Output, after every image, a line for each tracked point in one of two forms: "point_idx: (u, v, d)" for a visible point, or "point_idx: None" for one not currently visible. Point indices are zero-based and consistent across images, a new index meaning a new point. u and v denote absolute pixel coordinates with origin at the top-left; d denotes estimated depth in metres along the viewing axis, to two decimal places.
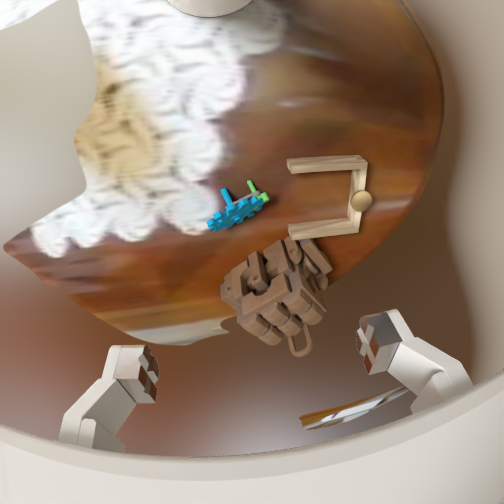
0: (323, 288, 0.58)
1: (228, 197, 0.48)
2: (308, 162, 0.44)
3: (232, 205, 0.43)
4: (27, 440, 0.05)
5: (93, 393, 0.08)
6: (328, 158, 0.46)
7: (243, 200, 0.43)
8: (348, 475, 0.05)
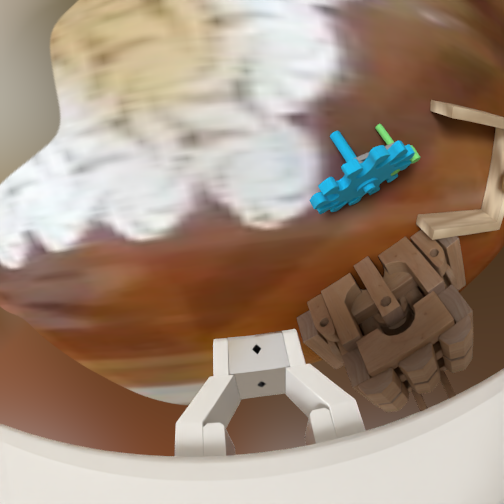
0: None
1: (348, 147, 0.22)
2: (464, 107, 0.20)
3: (384, 148, 0.17)
4: (27, 440, 0.05)
5: (209, 393, 0.08)
6: (478, 110, 0.21)
7: (400, 143, 0.18)
8: (348, 475, 0.05)
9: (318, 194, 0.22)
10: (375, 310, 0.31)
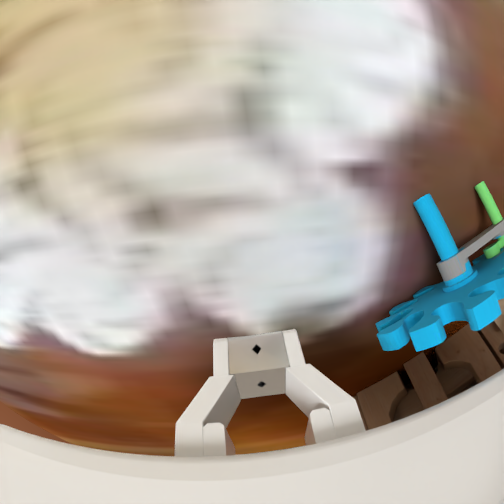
0: None
1: (446, 228, 0.11)
2: None
3: None
4: (27, 440, 0.05)
5: (209, 393, 0.08)
6: None
7: None
8: (348, 475, 0.05)
9: (398, 332, 0.10)
10: None
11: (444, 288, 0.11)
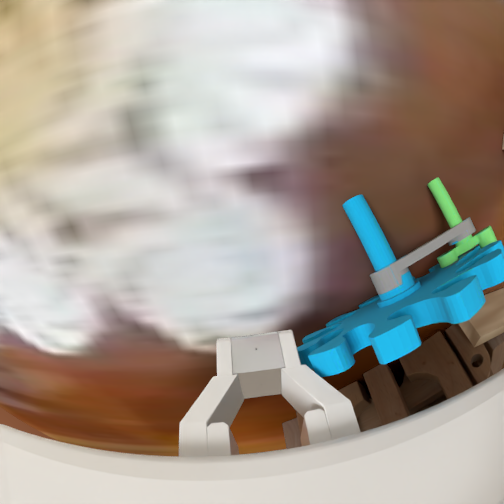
0: None
1: (380, 233, 0.11)
2: None
3: (478, 286, 0.06)
4: (27, 440, 0.05)
5: (213, 393, 0.08)
6: None
7: (503, 259, 0.06)
8: (348, 475, 0.05)
9: (308, 351, 0.10)
10: None
11: (378, 302, 0.11)
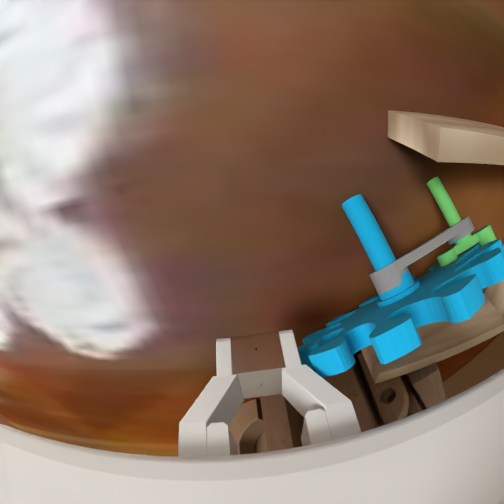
0: None
1: (379, 233, 0.11)
2: (472, 126, 0.08)
3: (478, 285, 0.06)
4: (27, 440, 0.05)
5: (212, 393, 0.08)
6: (500, 128, 0.09)
7: (502, 258, 0.06)
8: (348, 475, 0.05)
9: (309, 351, 0.10)
10: None
11: (377, 302, 0.11)
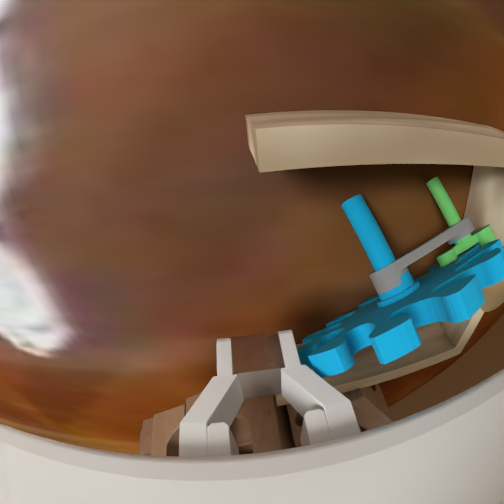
0: None
1: (379, 233, 0.11)
2: (347, 118, 0.08)
3: (477, 285, 0.06)
4: (27, 440, 0.05)
5: (213, 393, 0.08)
6: (419, 117, 0.09)
7: (502, 258, 0.06)
8: (348, 475, 0.05)
9: (308, 352, 0.10)
10: None
11: (377, 302, 0.11)
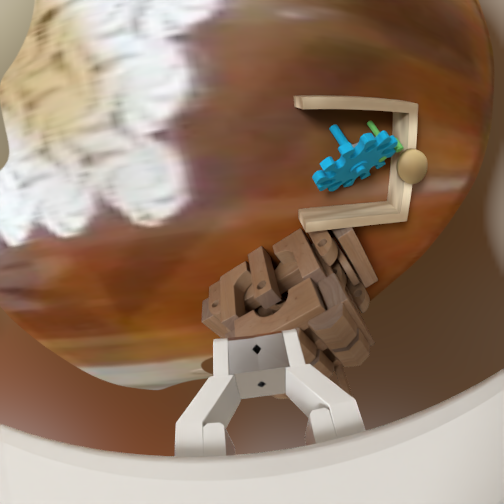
0: (363, 309, 0.35)
1: (344, 137, 0.28)
2: (328, 96, 0.25)
3: (372, 135, 0.23)
4: (27, 440, 0.05)
5: (209, 393, 0.08)
6: None
7: (385, 132, 0.23)
8: (348, 475, 0.05)
9: (319, 171, 0.27)
10: None
11: None
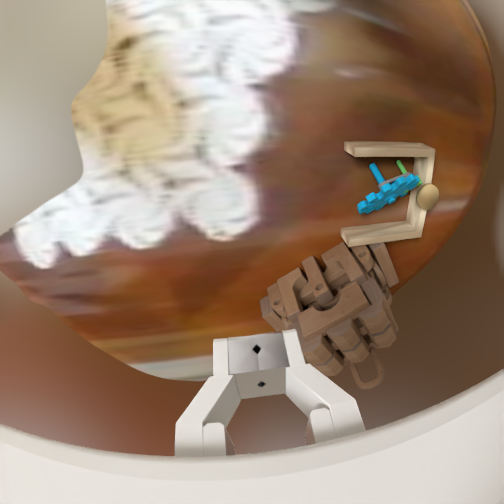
0: None
1: (380, 173, 0.36)
2: (372, 145, 0.33)
3: (404, 178, 0.31)
4: (27, 440, 0.05)
5: (209, 393, 0.08)
6: (391, 143, 0.34)
7: (413, 175, 0.31)
8: (348, 475, 0.05)
9: (363, 201, 0.35)
10: None
11: None
